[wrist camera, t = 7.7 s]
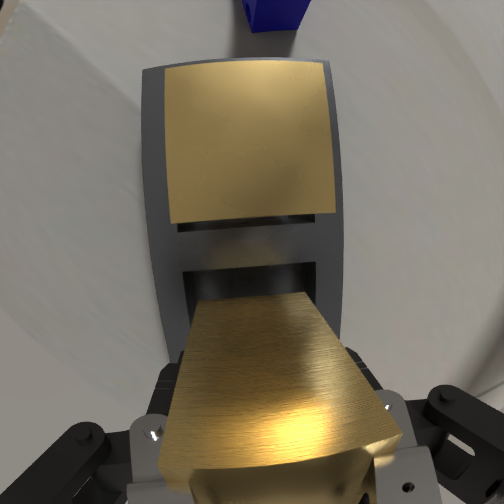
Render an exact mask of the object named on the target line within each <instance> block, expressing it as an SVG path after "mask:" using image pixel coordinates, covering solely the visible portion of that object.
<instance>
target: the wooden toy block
mask: <svg viewBox="0 0 504 504" xmlns="http://www.w3.org/2000/svg"><path fill="white" fill-rule="evenodd" d="M402 434H403V433H402V431H401V430H400V428H399V427H398V425H397V424H396V422H395V421H394V419H393V418H392V416H391V415H390V413H389V412H388V410H387V409H386V407H385V406H384V404H383V403H382V401H381V400H380V398H379V397H378V395H377V394H376V392H375V391H374V390H373V388H372V387H371V385H370V384H369V382H368V381H367V379H366V378H365V376H364V375H363V374H362V372H361V371H360V369H359V368H358V366H357V365H356V363H355V362H354V361H353V359H352V358H351V356H350V355H349V353H348V352H347V351H346V349H345V348H344V346H343V345H342V343H341V342H340V341H339V339H338V338H337V336H336V335H335V333H334V332H333V331H332V329H331V328H330V326H329V325H328V324H327V322H326V321H325V319H324V318H323V316H322V315H321V314H320V312H319V311H318V309H317V308H316V307H315V305H314V304H313V302H312V301H311V300H310V298H309V297H308V296H307V294H306V293H305V292H298V293H288V294H277V295H266V296H254V297H241V298H227V299H212V300H198V303H197V307H196V311H195V314H194V318H193V321H192V325H191V328H190V332H189V336H188V340H187V343H186V347H185V351H184V355H183V358H182V362H181V366H180V370H179V374H178V378H177V382H176V386H175V390H174V394H173V398H172V402H171V406H170V410H169V414H168V419H167V423H166V427H165V432H164V436H163V441H162V445H161V450H160V454H159V459H158V464H157V467H158V469H159V471H160V472H161V474H162V476H163V478H164V479H165V481H174V482H189V484H190V486H191V488H192V490H193V492H194V494H195V496H196V498H197V500H198V502H199V504H351V503H352V501H353V499H354V497H355V495H356V493H357V491H358V489H359V487H360V485H361V483H362V481H363V479H364V477H365V475H366V473H367V470H368V468H369V466H370V464H371V461H372V459H373V457H374V456H378V455H381V454H385V453H388V452H392V451H395V450H396V447H397V445H398V443H399V441H400V439H401V436H402Z"/></svg>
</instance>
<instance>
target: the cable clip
mask: <svg viewBox="0 0 504 504" xmlns="http://www.w3.org/2000/svg"><path fill="white" fill-rule="evenodd" d="M310 1H311V0H242V3H243V6H244V9H245V12H246V16H247V19H248V22H249V25H250V29H251V32H252V33H257V32H267V31H280V30H298V28H299V25H300V23H301V21H302V19H303V16H304V14H305V12H306V10H307V8H308V6H309V3H310Z"/></svg>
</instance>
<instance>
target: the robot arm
mask: <svg viewBox="0 0 504 504" xmlns="http://www.w3.org/2000/svg"><path fill="white" fill-rule="evenodd" d="M345 349H346V351H347V352H348V353H349V355H350V356H351V358H352V359H353V361H354V362H355V363H356V365H357V366H358V368H359V369H360V371H361V372H362V374H363V375H364V376H365V378H366V379H367V381H368V382H369V384H370V385H371V387H372V388H373V390H374V391H375V392H376V394H377V395H378V397H379V398H380V400H381V401H382V403H383V404H384V406H385V407H386V409H387V410H388V412H389V413H390V415H391V416H392V418H393V419H394V421H395V422H396V424H397V425H398V427H399V428H400V430H401V431H402V433H403V434H402V436H401V439H400V441H399V443H398V445H397V447H396V450H395V451H392V452H388V453H385V454H381V455H378V456H374V457H373V459H372V461H371V464H370V466H369V468H368V470H367V473H366V475H365V477H364V479H363V481H362V483H361V485H360V487H359V489H358V491H357V493H356V495H355V497H354V499H353V501H352V503H351V504H442V500H441V495H440V490H439V485H438V483H439V484H441V485H442V486H444V488H446V489H447V490H449V491H450V492H451V493H453V494H454V495H455V496H457V497H458V498H459V499H461V500H462V501H463V502H465V503H466V504H504V414H503V413H502V412H500V411H498V410H496V409H494V408H493V407H491V406H489V405H487V404H486V403H484V402H482V401H480V400H478V399H477V398H475V397H473V396H471V395H470V394H468V393H466V392H464V391H462V390H461V389H459V388H457V387H455V386H452V385H439V386H436V387H434V388H433V389H432V390H431V391H430V392H429V395H428V397H427V399H421V400H409V401H406V400H404V399H403V397H402V396H401V395H400V394H398V393H396V392H394V391H391V390H384V389H383V388H382V387H381V385H380V384H379V383H378V381H377V380H376V378H375V377H374V376H373V374H372V373H371V372H370V370H369V369H368V368H367V366H366V365H365V363H364V362H362V359H361V358H360V357H359V355H358V354H357V353H356V352H354V351H353V350H351V349H349V348H348V347H345ZM184 351H185V350H183V351H181V352H180V356H179V359H178V363H168V364H167V365H166V366H165V367H164V368H163V369H162V370H161V372H160V375H159V377H158V382H157V383H156V386H155V389H154V392H153V395H152V398H151V401H150V404H149V407H148V410H147V413H146V415H144V416H141V417H139V418H138V419H136V420H135V421H134V422H133V423H132V425H131V427H130V430H127V431H121V432H113V433H105V432H104V431H103V429H102V428H101V427H100V426H99V425H98V424H96V423H92V422H80V423H77V424H75V425H73V426H71V427H70V428H69V429H68V430H67V431H66V432H65V433H64V434H63V435H62V436H61V437H60V438H59V439H58V440H57V441H55V442H54V443H53V444H52V445H51V446H50V447H49V448H48V449H47V450H46V451H45V452H44V453H43V454H42V455H41V456H40V457H39V458H38V459H37V460H36V461H35V462H34V463H33V464H32V465H31V466H30V467H29V468H28V469H27V470H25V471H24V473H22V474H21V475H20V476H19V477H18V478H17V479H16V480H15V481H14V482H13V483H12V484H11V485H10V486H9V487H8V488H7V489H6V490H5V491H4V492H3V493H2V494H1V495H0V504H125V503H126V501H127V500H128V504H199V502H198V500H197V498H196V496H195V494H194V492H193V490H192V488H191V486H190V484H189V482H174V481H165V479H164V478H163V476H162V474H161V472H160V471H159V469H158V467H157V464H158V459H159V454H160V450H161V445H162V441H163V436H164V432H165V427H166V423H167V419H168V414H169V410H170V406H171V402H172V398H173V394H174V390H175V386H176V382H177V378H178V374H179V370H180V366H181V362H182V358H183V355H184ZM450 434H451V435H453V436H454V437H456V438H457V439H459V440H460V441H462V442H463V443H465V444H467V445H468V446H470V447H471V448H472V449H473V450H474V452H475V456H472V455H470V454H468V453H467V452H466V451H464V450H463V449H461V448H459V447H458V446H457V445H455V444H454V443H452V442H451V441H449V440H448V439H447V438H448V437H449V435H450ZM87 480H88V481H87ZM86 481H87V482H86ZM85 482H86V483H85ZM84 483H85V484H84ZM81 487H82V488H81ZM80 488H81V489H80ZM79 489H80V490H79ZM76 493H77V494H76ZM75 494H76V495H75ZM74 495H75V496H74Z"/></svg>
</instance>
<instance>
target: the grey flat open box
mask: <svg viewBox="0 0 504 504" xmlns="http://www.w3.org/2000/svg"><path fill="white" fill-rule="evenodd" d="M253 60H276V61H301V62H315V63H322V64H323V71H324V77H325V85H326V92H327V100H328V109H329V118H330V128H331V139H332V151H333V165H334V183H335V207H336V213H316V214H296V215H278V216H262V217H247V218H233V219H220V220H207V221H195V222H184V223H173V224H171V220H170V209H169V197H168V183H167V167H166V145H165V69H166V68H172V67H179V66H186V65H194V64H203V63H214V62H228V61H253ZM141 137H142V166H143V183H144V197H145V208H146V219H147V228H148V237H149V245H150V253H151V261H152V268H153V274H154V281H155V287H156V293H157V299H158V304H159V310H160V315H161V320H162V325H163V330H164V335H165V339H166V344H167V348H168V353H169V357H170V361H171V363H178V359H179V356H180V352H181V351H183V350H185V347H186V343H187V340H188V336H189V332H190V328H191V325H192V321H193V318H194V314H195V311H196V307H197V303H198V300H212V299H227V298H241V297H254V296H266V295H277V294H288V293H298V292H305V293H306V294H307V296H308V297H309V298H310V300H311V301H312V302H313V304H314V305H315V307H316V308H317V309H318V311H319V312H320V314H321V315H322V316H323V318H324V319H325V321H326V322H327V324H328V325H329V326H330V328H331V329H332V331H333V332H334V333H335V335H336V336H337V338H338V339H340V326H341V310H342V290H343V250H344V231H343V191H342V171H341V156H340V143H339V132H338V122H337V113H336V104H335V96H334V89H333V82H332V75H331V69H330V62H329V61H326V60H316V59H303V58H281V57H247V58H225V59H212V60H202V61H193V62H185V63H178V64H171V65H165V66H159V67H154V68H149V69H144V70H143V71H142V98H141Z"/></svg>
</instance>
